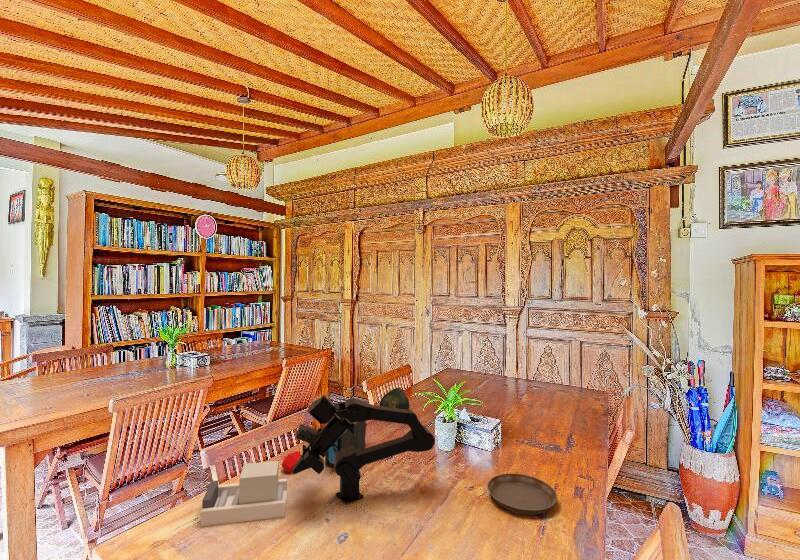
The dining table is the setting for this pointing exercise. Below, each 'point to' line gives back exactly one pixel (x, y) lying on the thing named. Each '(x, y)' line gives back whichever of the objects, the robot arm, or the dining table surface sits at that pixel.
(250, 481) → the beige block
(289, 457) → the apple
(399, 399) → the squash
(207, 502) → the rubber stop
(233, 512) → the roller bed
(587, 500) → the dining table surface
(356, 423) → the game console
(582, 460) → the dining table surface
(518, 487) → the plant saucer
